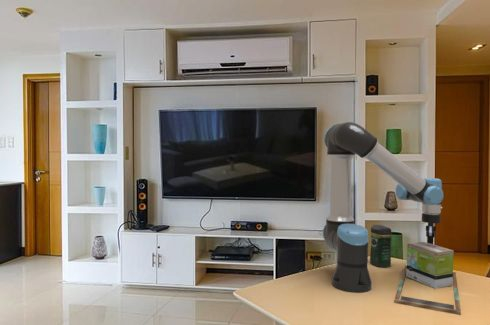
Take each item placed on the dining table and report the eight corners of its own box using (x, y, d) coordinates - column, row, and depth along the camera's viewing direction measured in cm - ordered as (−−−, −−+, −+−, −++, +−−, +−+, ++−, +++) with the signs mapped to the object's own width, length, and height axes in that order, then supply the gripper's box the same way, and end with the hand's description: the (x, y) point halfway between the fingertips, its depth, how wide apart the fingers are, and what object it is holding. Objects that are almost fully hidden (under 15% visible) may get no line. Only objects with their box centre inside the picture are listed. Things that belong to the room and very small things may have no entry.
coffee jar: (393, 267, 177) (394, 227, 176) (378, 268, 175) (379, 227, 174) (381, 261, 186) (382, 223, 186) (367, 262, 184) (368, 223, 184)
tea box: (405, 277, 162) (406, 242, 162) (422, 274, 166) (423, 241, 166) (435, 289, 149) (436, 251, 148) (453, 286, 153) (454, 249, 152)
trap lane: (393, 302, 134) (394, 299, 134) (404, 267, 177) (405, 264, 177) (460, 314, 125) (461, 311, 125) (455, 274, 167) (455, 271, 167)
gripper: (440, 216, 161) (438, 271, 162) (440, 212, 173) (438, 264, 173) (421, 214, 164) (419, 269, 165) (422, 210, 176) (420, 261, 177)
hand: (429, 266), depth 169 cm, fingers closed
